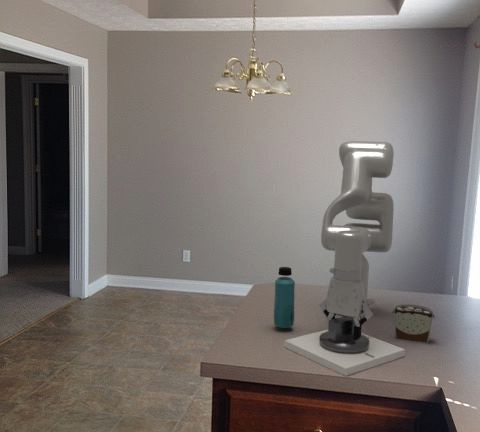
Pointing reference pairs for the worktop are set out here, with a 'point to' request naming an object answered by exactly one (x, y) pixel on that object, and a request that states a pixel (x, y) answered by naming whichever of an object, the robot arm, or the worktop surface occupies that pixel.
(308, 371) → the worktop surface
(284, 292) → the beverage bottle
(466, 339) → the worktop surface
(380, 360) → the dial plate
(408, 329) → the food container
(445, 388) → the worktop surface
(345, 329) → the dial
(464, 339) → the worktop surface
